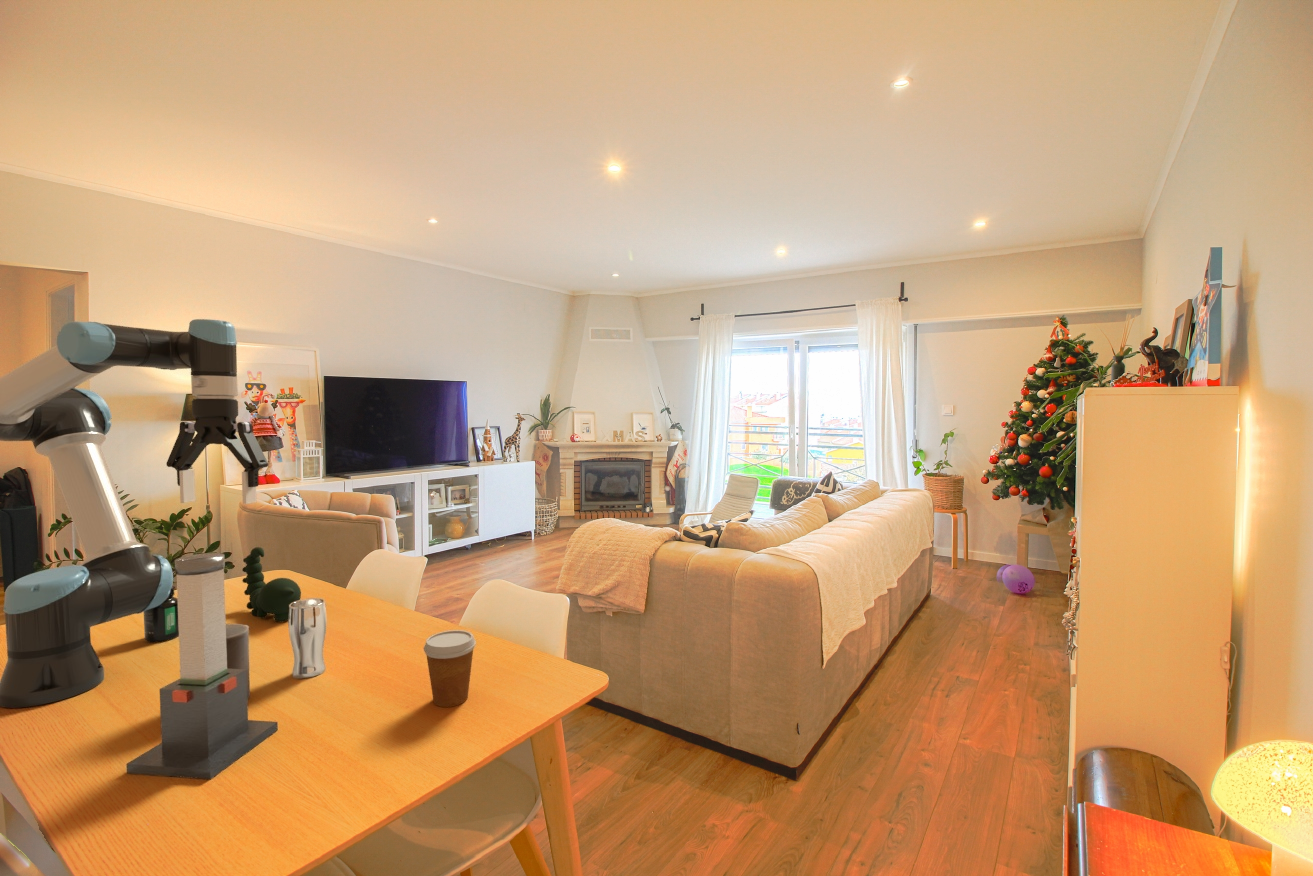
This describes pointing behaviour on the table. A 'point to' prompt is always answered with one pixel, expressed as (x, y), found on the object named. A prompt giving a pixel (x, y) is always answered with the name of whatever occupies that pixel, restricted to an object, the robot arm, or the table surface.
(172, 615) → the supplement bottle
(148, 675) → the table surface
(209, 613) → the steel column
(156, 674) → the table surface
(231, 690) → the jack stand
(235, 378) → the robot arm
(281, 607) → the toy figurine
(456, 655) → the disposable coffee cup
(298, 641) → the beer glass
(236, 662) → the pillar candle
